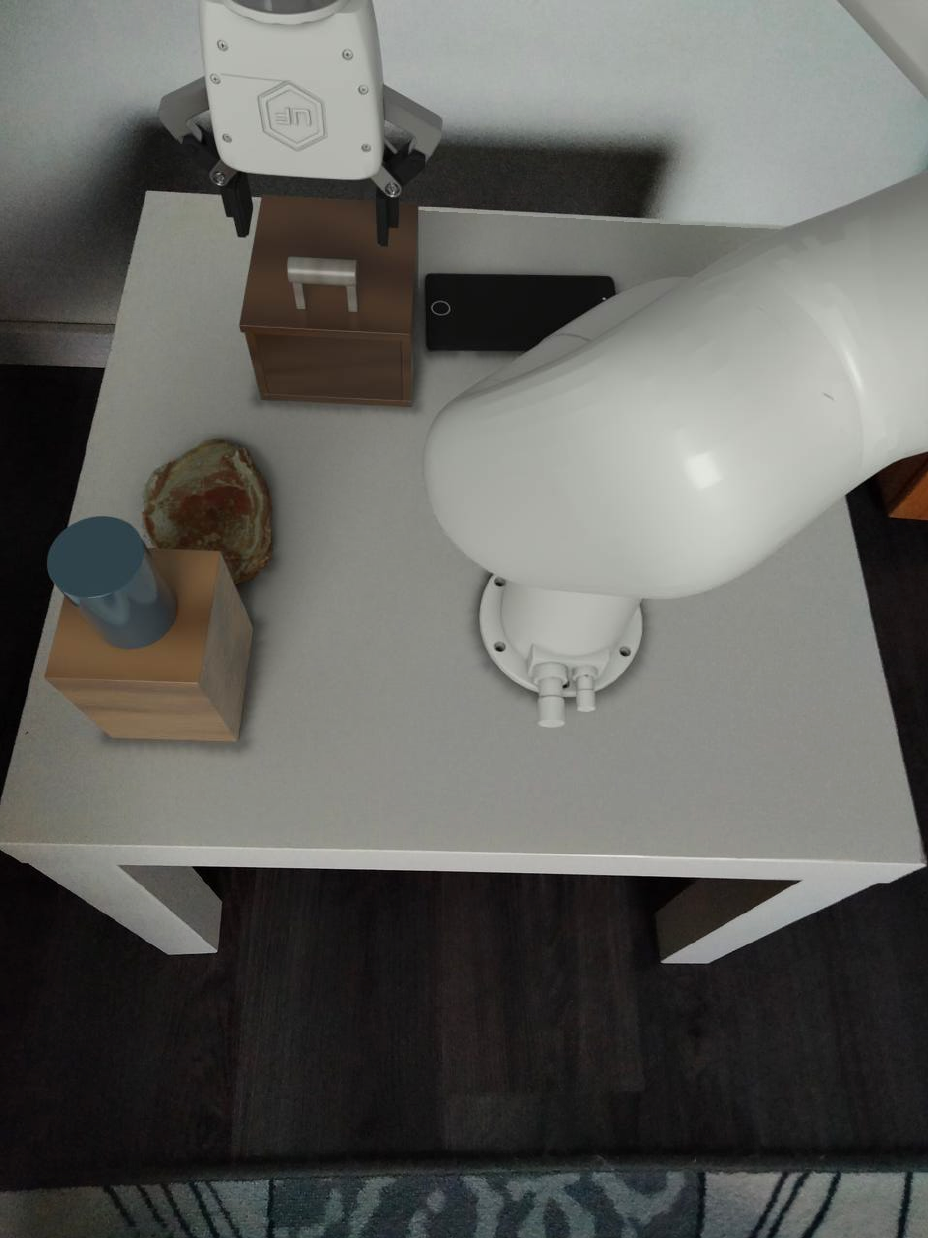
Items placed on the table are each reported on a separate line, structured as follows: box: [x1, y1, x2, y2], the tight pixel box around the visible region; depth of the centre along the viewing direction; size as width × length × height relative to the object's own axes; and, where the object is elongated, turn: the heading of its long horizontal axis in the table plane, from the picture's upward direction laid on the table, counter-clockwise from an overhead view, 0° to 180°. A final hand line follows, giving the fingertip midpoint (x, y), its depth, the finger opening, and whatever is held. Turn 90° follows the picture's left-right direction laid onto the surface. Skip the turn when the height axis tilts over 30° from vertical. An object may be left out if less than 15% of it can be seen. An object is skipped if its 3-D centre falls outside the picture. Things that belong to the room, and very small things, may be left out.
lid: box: [238, 194, 420, 341], centre depth 66 cm, size 14×13×5 cm
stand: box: [44, 547, 254, 743], centre depth 57 cm, size 9×9×12 cm
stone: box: [141, 438, 274, 586], centre depth 66 cm, size 13×10×3 cm
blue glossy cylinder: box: [46, 515, 177, 649], centre depth 48 cm, size 5×5×7 cm
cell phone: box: [424, 272, 617, 352], centre depth 78 cm, size 9×18×1 cm, turn 92°
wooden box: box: [244, 212, 420, 408], centre depth 72 cm, size 14×13×9 cm
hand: (315, 227), depth 59 cm, fingers open, 9 cm apart
